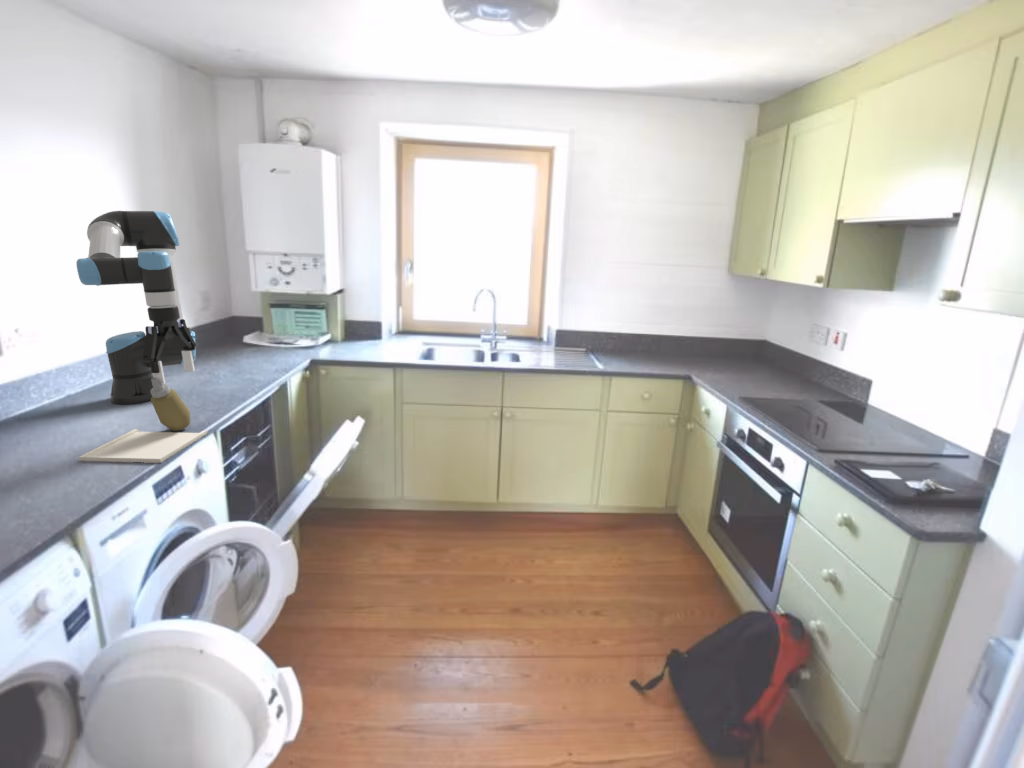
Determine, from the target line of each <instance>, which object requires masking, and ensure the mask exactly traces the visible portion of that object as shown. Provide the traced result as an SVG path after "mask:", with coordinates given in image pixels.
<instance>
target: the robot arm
mask: <svg viewBox="0 0 1024 768" xmlns="http://www.w3.org/2000/svg"><path fill="white" fill-rule="evenodd" d="M86 229H87V231H86V235H87V239H88V241H89V248H88V257H84V258H78V259H77V260H76V270H77V271H76V272H77V275H78V278H79V280H80V282H81V284H82V285H83V286H97V287H99V286H108V285H109V286H111V285H112V286H113V285H132V284H134V285H135V284H142V286H143V292H144V297H145V303H146V306H147V307H148V308H147V309H146V310H147V313H148V314H147V315H148V318H149V319H148V320H149V321H151V322H153V326H151V325H150V326H148V325H147V326H146V327H145V332H144V331H141V330H140V331H138V330H137V331H130V332H125V333H120V334H116V335H114V336H111V337H108V339H107V340H106V341H105V348H106V352H105V353H106V354H107V357H108V358H107V359H108V362H109V367H110V372H111V376H112V383H111V392H110V400H111V403H112V404H118V405H129V404H130V405H133V404H139V403H144V402H148V401H149V402H151V397H152V394H151V392H150V391H151V389H152V388H153V385H152V381H151V379H152V378H156V379H157V380H158V381H159V382H160V383H161V384H166V378H165V374H164V367H169V366H170V367H172V366H179V365H180V366H182V365H183V367H184V368H183V369H184V372H191V373H192V372H196V369H195V364H194V361H196V355H197V354H196V346H197V343H196V332H195V331H193V330H191V328H190V325H188V324H186V320H185V319H184V318H183V312H182V311H183V310H182V306H181V305H182V304H181V300H180V293H179V288H178V283H177V278H176V271H175V266H174V259H173V255H174V254H175V253H176V252H177V249H176V247H179V246H180V241H179V237H178V233H177V230H176V227H175V224H174V222H173V219H172V216H171V215H170V214H169V213H168V212H166V211H165V212H164V211H155V210H151V211H149V210H114V211H113V210H112V211H109V212H106V213H103V214H101V215H99V216H97V217H96V218H94V219H92V221H90V223H89V224H88V226H87V228H86ZM121 247H135V249H136V252H137V255H136V256H137V257H135V256H134V257H121Z"/></svg>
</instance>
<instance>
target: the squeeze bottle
mask: <svg viewBox="0 0 1024 768" xmlns="http://www.w3.org/2000/svg"><path fill="white" fill-rule="evenodd" d="M151 381H152V385H153V388H152V389H151V391H150V392H151V394H152V397H151V400H150V402H151V404H152V406H153V408H154V411H155V413H156V415H157V417H158V420H159V421H160V424H162V425H164V427H166V428H167V429H169V430H170V432H180V431H181V430H184V429H185V428H187V427H188V426H189V425H190V424H191V411H190V409H189V407H188V406H187V404H186V403H185V402H184V401H183V399H182V398H181V396H180V395H179V394H178V392H177V391H176V390H175V389H173V388H170V386H169V385H168V384H167V383H164V384H161V383H160V382H159V381H158V380H157V379H156V378H152V379H151Z"/></svg>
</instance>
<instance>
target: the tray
mask: <svg viewBox="0 0 1024 768" xmlns="http://www.w3.org/2000/svg"><path fill="white" fill-rule="evenodd" d="M207 435H208V431H207V430H202V431H200V432H179V431H168V432H165V431H164V432H162V431H139V429H137V428H134V429H132V430H130V431H127V432H126V433H124V434H122V435H120V436H118V437H117V438H114V439H112V440H109V441H108V442H106V443H103V444H102V445H100V446H98V447H96V448H94V449H92V450H90V451H88V452H85V453H84V454H81V455H80V456H78V459H79V462H96V463H97V462H98V463H100V462H101V463H133V462H142V464H143V462H144V463H145V464H162V463H164V462H166V461H167V460H169V459H171V458H172V457H173V456H175V455H177V454H178V453H181V452H182V451H183V450H185V449H187V448H188V447H189V446H191V445H193V444H195V443H197V442H198V441H199V440H201V439H203V438H205V437H206V436H207Z"/></svg>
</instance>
